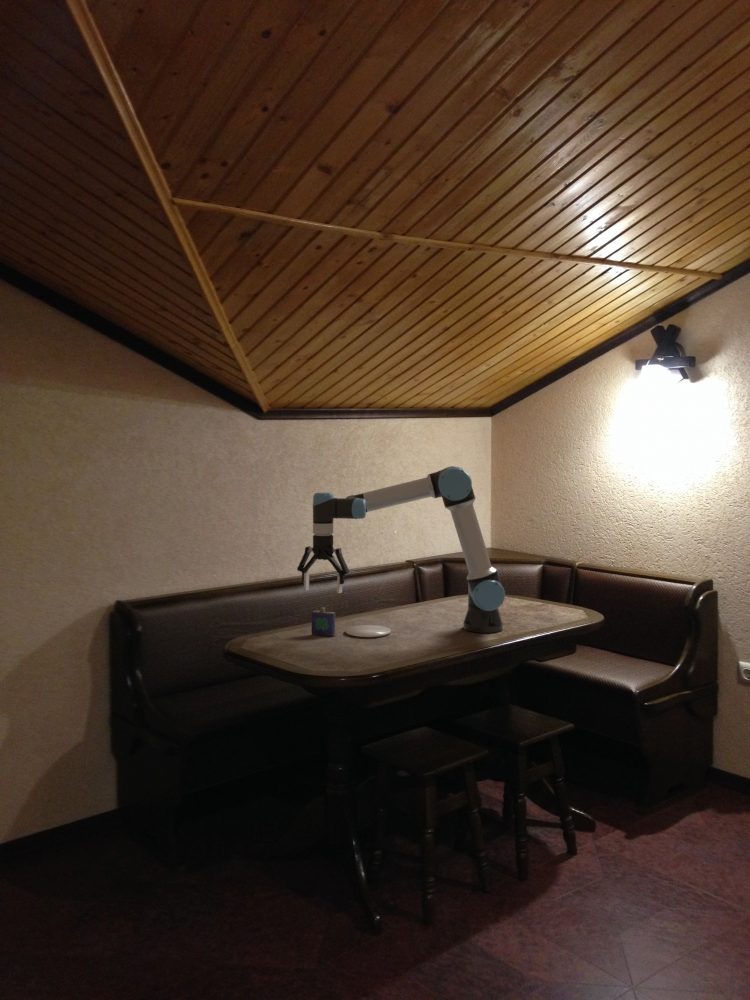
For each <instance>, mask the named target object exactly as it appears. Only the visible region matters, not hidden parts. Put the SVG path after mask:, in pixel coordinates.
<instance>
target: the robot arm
mask: <svg viewBox="0 0 750 1000" xmlns="http://www.w3.org/2000/svg"><path fill="white" fill-rule="evenodd" d="M472 483H473V481H472V478H471V476H470V473H469V472H467V470H465V469H463V468H462V467H459V466H454V465H453V466H451V465H450V466H447V467H445V468H443V469H440V470H438V471H435V472H432V473H429V474H427V476H426V477H422V478H419V479H414V480H409V481H407V482H403V483H402V482H401V483H399V484H394V485H391V486H387V487H382V488H377V489H374V490H371V491H367V492H362V493H358V494H352V495H348V496H346V497H344V498H338V497H335V496H334V493H332V492H316V493H314V494H313V499H312V534H313V535H312V546H306V547H304V553H303V556H301V557H302V558H301V560H300V562H299V564H298V566H297V568H296V570H297V571H298V572H300V573H301V581H302V582H303V591H305V592H306V591H309V590H310V572H308V571H309V570H310V568H311V567H312V565H314V564H315V563H316V562H317V560H323V561H328V562H329V563H330V564H331V565H332V567H333V568H334V569H335V571H336V573H338V575H337V577H336V579H337V581H336V582H337V583H336V585H337V586H336V593H337V594H341V593H343V585H345V575H347V574H350V570H349V568H348V565H347V563H346V560H345V558H344V556H343V553H342V548H341V547H338V548H334V535H333V534H334V519H343V520H345V519H346V520H348V519H349V520H351V519H352V520H353V519H355V520H358V519H359V520H360V519H361V520H363V519H365V518H366V515H367V514H366V513H370V512H374V511H378V510H381V509H386V508H390V507H394V506H399V505H403V504H407V503H410V502H415V501H419V500H423V499H428V498H433V499H438V498H442V502H443V505H444V508H445V509H446V510H449V511H450V514H451V517H452V520H453V523H454V528H455V530H456V533H457V537H458V541H459V544H460V547H461V551H462V554H463V557H464V561H465V563H466V567H467V569H468V574H467V576H466V581H467V585H468V590H467V593H468V594H467V595H468V596H467V610H466V614H465V616H464V620H463V622H462V623H463V625H462V626H463V627H462V628H463V629H464V631H468V632H471V633H472V632H473V633H482V634H488V633H489V634H492V633H498V632H499V633H500V632H502V631H503V629H504V628H503V627H504V623H503V621H502V617H501V613H500V610H499V608H500V607H501V606H502V605H503V603H504V601H505V598H506V591H505V587H503V585H502V582H501V578H500V573H499V570H498V569H497V568H496V567H493V566H492V564H491V559H490V557H489V553H488V550H487V547H486V544H485V543H486V542H485V539H484V536H483V534H482V530H481V526H480V523H479V520H478V516H477V513H476V509H475V507H474V502H475V500H476V495H475V493H474V489H473V486H472V485H473V484H472ZM311 553H313V555H312V556H311V558H310V560H308V559H309V556H310V554H311ZM334 554H335V555H336V558H335V556H334ZM336 559H337V560H336ZM307 561H308V562H307Z"/></svg>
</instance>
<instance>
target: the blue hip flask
mask: <svg viewBox="0 0 750 1000" xmlns="http://www.w3.org/2000/svg"><path fill="white" fill-rule="evenodd" d="M326 608H327V607H324V606H323V607H321V609H320V610H319V609H316V610H312V611H311V636H312V637H313V636H314V637H323V638H324V637H328V638H334V637H335V636H336V612H334V611H326Z"/></svg>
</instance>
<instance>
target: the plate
mask: <svg viewBox="0 0 750 1000" xmlns="http://www.w3.org/2000/svg"><path fill="white" fill-rule="evenodd" d="M391 632H392V629H391V628H389V627H387V626H384V625H375V624H362V625H354V626H349V627H347V628H345V633H346V634H347V635H350V636H354V637H359V638H379V637H383V636H387V635H389V634H392V633H391Z"/></svg>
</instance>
